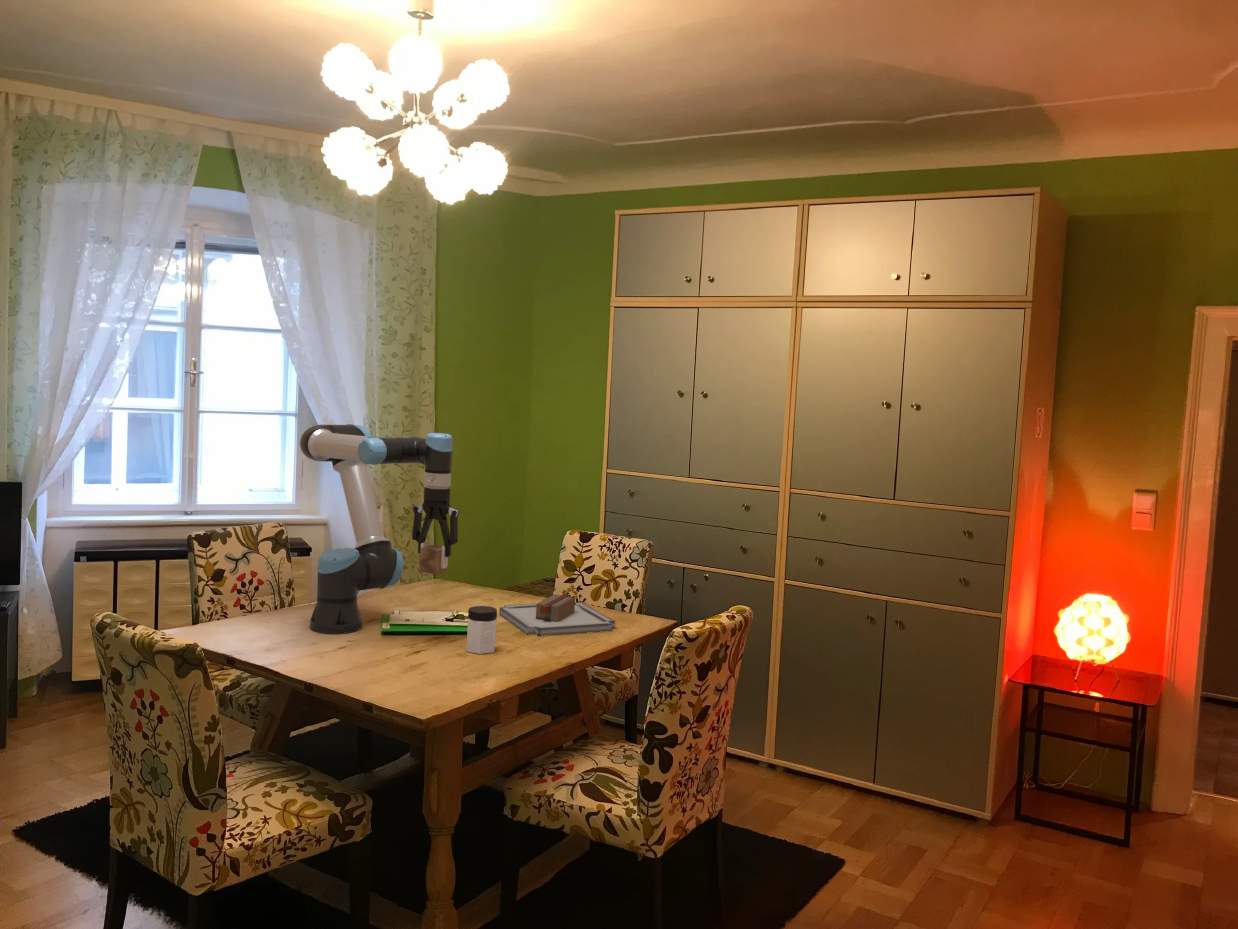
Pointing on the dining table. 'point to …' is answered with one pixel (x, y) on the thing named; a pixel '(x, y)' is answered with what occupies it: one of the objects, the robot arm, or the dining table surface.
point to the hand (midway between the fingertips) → (433, 566)
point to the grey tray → (556, 617)
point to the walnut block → (431, 560)
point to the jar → (481, 629)
